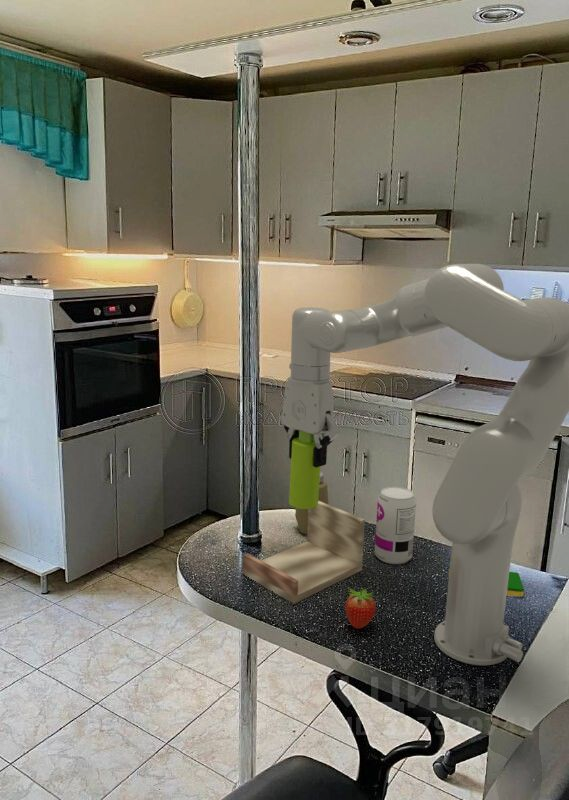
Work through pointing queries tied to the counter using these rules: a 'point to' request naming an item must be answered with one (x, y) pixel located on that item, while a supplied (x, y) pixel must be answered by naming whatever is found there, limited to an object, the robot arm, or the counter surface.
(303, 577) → the wooden holder
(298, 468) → the soap dispenser
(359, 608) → the fruit
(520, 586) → the dish sponge
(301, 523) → the squeeze bottle
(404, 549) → the supplement can
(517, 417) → the robot arm
